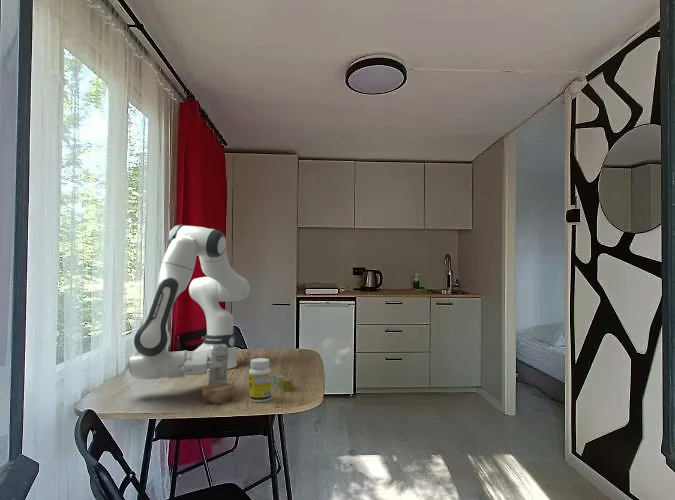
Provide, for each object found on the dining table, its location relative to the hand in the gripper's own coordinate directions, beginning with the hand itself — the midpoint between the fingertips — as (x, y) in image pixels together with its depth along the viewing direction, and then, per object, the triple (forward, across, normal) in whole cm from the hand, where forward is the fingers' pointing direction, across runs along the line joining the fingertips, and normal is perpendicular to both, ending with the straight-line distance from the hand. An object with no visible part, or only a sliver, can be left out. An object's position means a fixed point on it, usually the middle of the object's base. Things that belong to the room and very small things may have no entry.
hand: (221, 361), depth 166 cm
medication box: (+21, -2, +10) cm, 23 cm away
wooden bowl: (-1, -11, +10) cm, 15 cm away
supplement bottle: (+12, -15, +10) cm, 22 cm away
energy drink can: (-2, 0, +10) cm, 10 cm away
